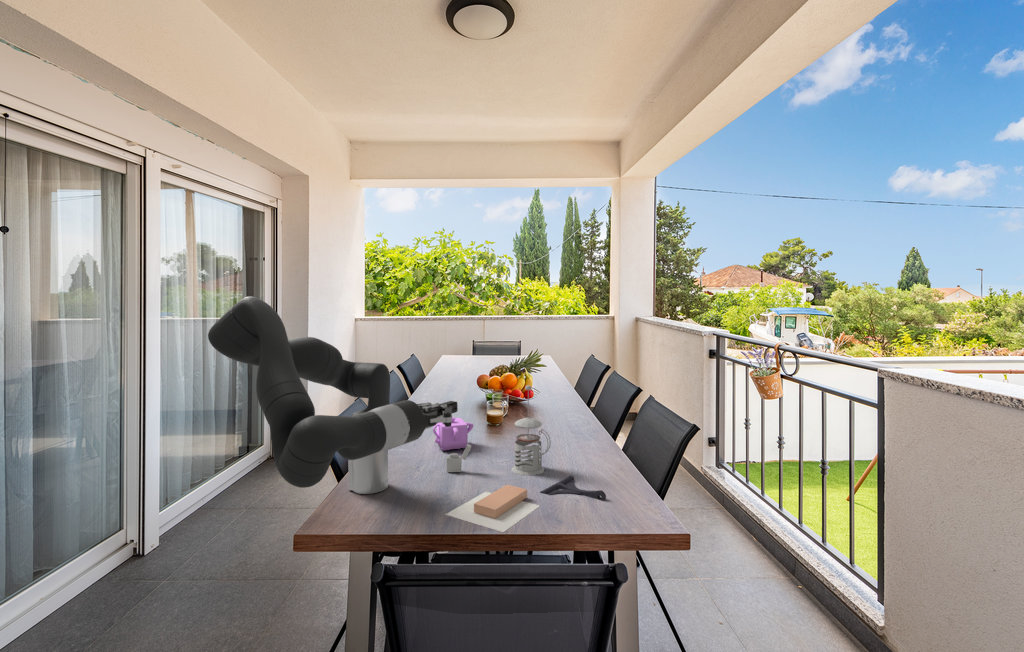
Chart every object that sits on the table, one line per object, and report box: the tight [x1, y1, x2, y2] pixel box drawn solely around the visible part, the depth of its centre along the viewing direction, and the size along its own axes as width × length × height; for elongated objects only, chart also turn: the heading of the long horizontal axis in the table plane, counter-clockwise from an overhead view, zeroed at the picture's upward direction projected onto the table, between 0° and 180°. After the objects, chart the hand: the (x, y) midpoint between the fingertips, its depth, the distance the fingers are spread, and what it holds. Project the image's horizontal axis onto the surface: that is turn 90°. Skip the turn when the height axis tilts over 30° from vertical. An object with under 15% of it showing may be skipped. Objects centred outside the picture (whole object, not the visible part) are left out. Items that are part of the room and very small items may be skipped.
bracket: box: [539, 475, 607, 502], centre depth 128 cm, size 14×15×3 cm
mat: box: [444, 491, 540, 533], centre depth 116 cm, size 16×16×1 cm
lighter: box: [446, 443, 472, 473], centre depth 143 cm, size 7×2×8 cm, turn 90°
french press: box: [511, 384, 552, 476], centre depth 144 cm, size 10×12×25 cm
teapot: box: [432, 416, 474, 451], centre depth 168 cm, size 18×14×10 cm
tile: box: [474, 484, 528, 518], centre depth 119 cm, size 6×2×14 cm
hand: (454, 406), depth 102 cm, fingers closed
